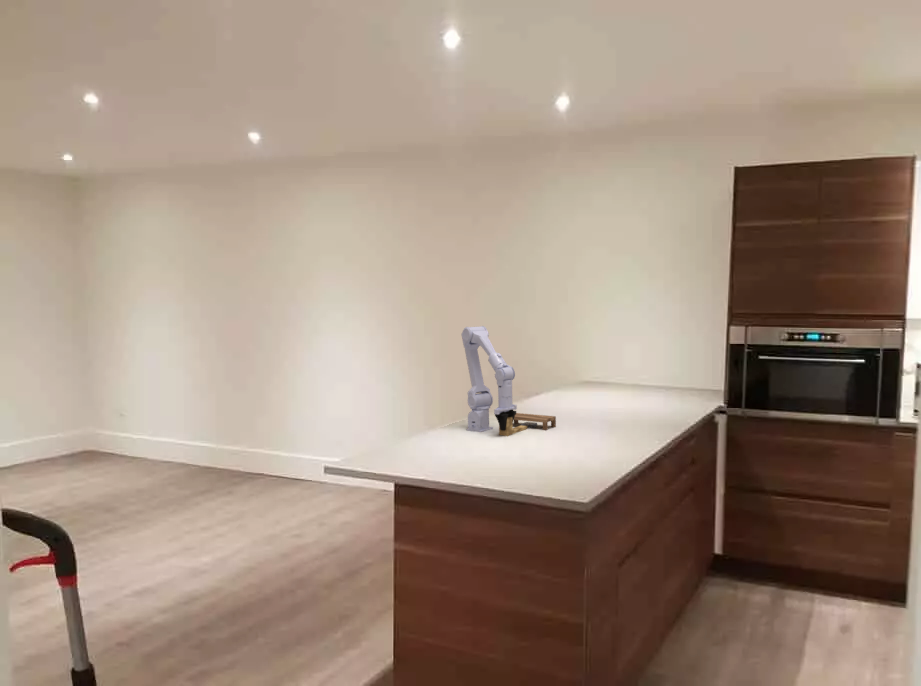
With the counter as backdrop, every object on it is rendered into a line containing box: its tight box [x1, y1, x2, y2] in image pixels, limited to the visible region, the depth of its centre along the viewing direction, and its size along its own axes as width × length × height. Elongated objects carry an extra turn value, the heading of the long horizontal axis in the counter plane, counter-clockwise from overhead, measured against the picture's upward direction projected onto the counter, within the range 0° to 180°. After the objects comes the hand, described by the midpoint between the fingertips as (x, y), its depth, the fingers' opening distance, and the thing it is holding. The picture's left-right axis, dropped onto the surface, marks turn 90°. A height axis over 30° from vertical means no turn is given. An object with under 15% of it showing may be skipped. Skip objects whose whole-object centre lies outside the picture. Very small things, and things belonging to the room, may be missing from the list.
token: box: [520, 421, 538, 429], centre depth 322 cm, size 5×5×2 cm
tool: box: [498, 417, 528, 437], centre depth 312 cm, size 17×4×7 cm, turn 145°
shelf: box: [513, 412, 557, 431], centre depth 323 cm, size 9×20×4 cm, turn 55°
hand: (505, 429), depth 306 cm, fingers closed on tool, 4 cm apart
